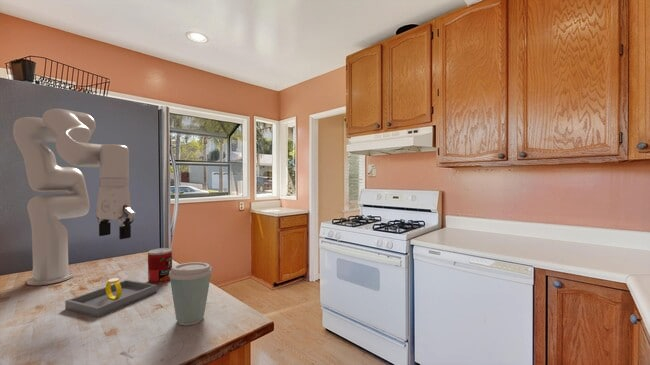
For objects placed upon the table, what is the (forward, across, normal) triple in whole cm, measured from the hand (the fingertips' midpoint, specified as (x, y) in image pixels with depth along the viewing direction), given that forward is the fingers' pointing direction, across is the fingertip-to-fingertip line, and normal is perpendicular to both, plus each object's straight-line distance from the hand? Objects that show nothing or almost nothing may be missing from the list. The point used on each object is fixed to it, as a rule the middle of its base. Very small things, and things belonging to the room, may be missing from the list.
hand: (114, 236), depth 93 cm
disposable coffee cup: (+18, +36, -3) cm, 40 cm away
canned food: (+19, +1, +15) cm, 25 cm away
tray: (+19, +4, -2) cm, 19 cm away
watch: (+19, +3, -2) cm, 19 cm away
